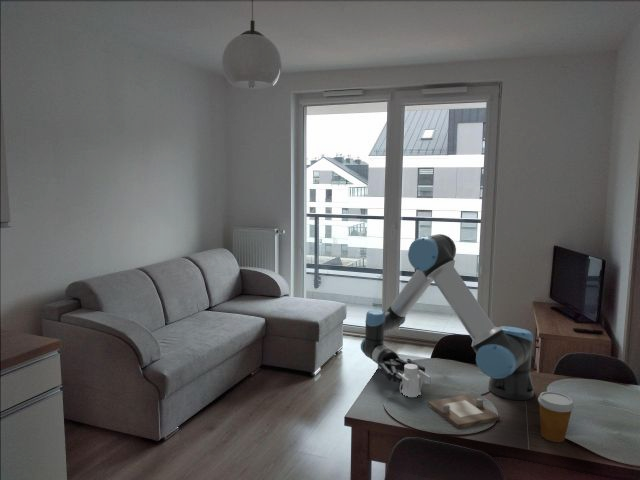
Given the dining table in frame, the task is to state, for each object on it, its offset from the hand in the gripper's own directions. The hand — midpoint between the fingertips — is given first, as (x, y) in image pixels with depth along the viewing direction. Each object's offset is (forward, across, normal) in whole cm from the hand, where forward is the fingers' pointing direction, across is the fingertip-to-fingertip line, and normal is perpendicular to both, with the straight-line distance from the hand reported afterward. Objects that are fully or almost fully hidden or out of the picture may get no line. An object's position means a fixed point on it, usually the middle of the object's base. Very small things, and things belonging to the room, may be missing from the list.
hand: (418, 382), depth 162 cm
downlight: (-5, 0, -6) cm, 8 cm away
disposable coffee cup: (+33, -25, -6) cm, 42 cm away
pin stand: (+12, -9, -6) cm, 17 cm away
